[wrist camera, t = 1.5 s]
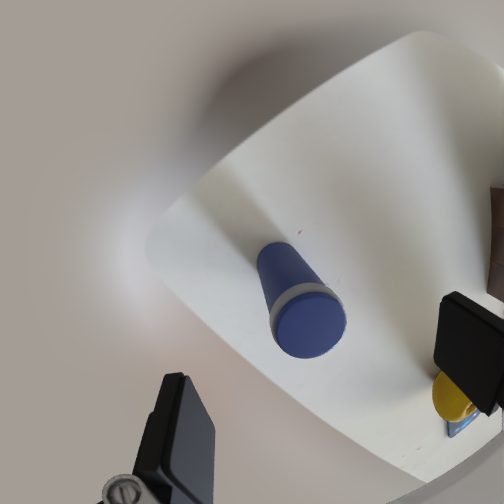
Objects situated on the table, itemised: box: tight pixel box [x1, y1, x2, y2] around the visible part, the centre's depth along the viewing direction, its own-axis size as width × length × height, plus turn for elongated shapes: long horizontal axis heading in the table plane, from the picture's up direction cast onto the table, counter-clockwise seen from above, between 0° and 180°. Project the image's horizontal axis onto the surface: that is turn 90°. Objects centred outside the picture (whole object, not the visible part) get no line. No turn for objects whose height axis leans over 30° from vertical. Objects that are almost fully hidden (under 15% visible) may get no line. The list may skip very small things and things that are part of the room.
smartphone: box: [448, 409, 480, 438], centre depth 28 cm, size 8×1×15 cm
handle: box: [257, 242, 347, 359], centre depth 15 cm, size 3×3×9 cm
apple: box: [432, 371, 477, 422], centre depth 20 cm, size 6×6×8 cm
